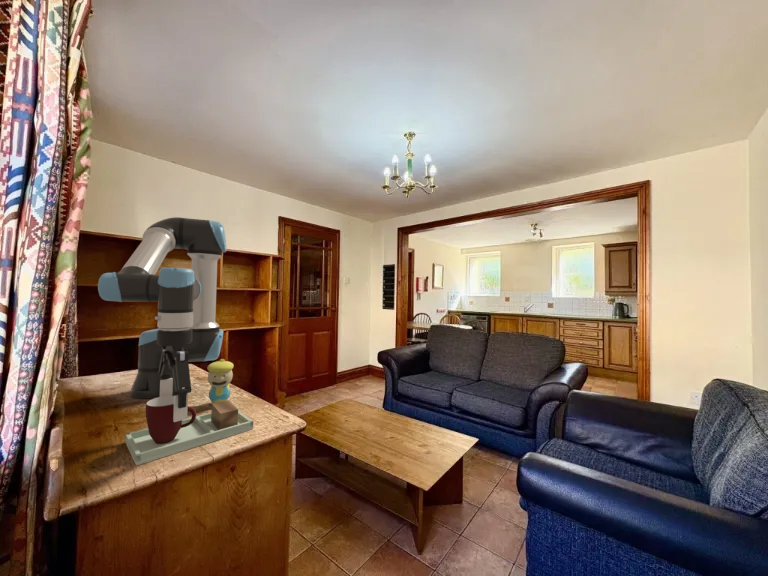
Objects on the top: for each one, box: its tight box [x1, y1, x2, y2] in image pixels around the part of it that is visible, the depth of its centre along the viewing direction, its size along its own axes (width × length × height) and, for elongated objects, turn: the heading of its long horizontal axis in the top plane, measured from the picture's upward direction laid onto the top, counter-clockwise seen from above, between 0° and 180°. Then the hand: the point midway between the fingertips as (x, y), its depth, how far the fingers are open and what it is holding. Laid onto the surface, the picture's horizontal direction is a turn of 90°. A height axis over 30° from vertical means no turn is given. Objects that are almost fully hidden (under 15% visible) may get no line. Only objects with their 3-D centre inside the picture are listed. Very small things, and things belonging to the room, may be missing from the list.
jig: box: [125, 410, 254, 467], centre depth 82 cm, size 14×26×2 cm, turn 137°
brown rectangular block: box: [210, 399, 239, 430], centre depth 88 cm, size 4×9×5 cm, turn 42°
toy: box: [206, 358, 234, 404], centre depth 104 cm, size 8×9×15 cm
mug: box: [145, 395, 197, 444], centre depth 78 cm, size 10×8×10 cm
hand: (172, 411), depth 79 cm, fingers open, 13 cm apart
